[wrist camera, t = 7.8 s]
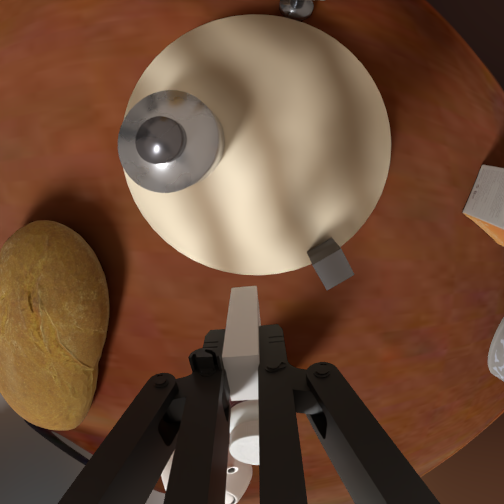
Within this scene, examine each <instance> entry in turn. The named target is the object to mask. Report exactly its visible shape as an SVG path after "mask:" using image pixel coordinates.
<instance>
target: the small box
mask: <svg viewBox="0 0 504 504" xmlns="http://www.w3.org/2000/svg"><path fill="white" fill-rule="evenodd" d="M463 214H464V215H466V216H467V217H469V218H470V219H471V220H472V221H474V222H475V223H476V224H477V225H478V226H479V227H481V228H482V229H483V230H484V231H485V232H486V233H487V234H488V235H489V236H490V237H492V238H493V239H494V240H495V241H496V242H497V243H498V244H500V245H502V246H504V168H500V167H495V166H489V165H482V166H481V169H480V171H479V174H478V177H477V179H476V182H475V184H474V186H473V189H472V191H471V194H470V196H469V198H468V201H467V203H466V205H465V208H464V210H463Z"/></svg>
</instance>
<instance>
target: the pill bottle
mask: <svg viewBox="0 0 504 504" xmlns="http://www.w3.org/2000/svg"><path fill="white" fill-rule="evenodd" d="M230 406H231V418H230V444H229V451H230V453H231V455H232V456H233V457H234V458H235V459H237V460H238V461H241V462H243V463H247V464H253V465H259V406H258V399H256V400H240V401H231V397H230Z"/></svg>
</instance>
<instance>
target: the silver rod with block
mask: <svg viewBox="0 0 504 504" xmlns="http://www.w3.org/2000/svg"><path fill="white" fill-rule="evenodd" d="M322 1H325V0H322ZM279 9H280V12H281V14H282V15H283V16H284V17H286V18H289V19H293V20H296V21H302V20H305V19H307V18H308V17H309V16H310V15H311V13H312V10H313V2H312V0H280V5H279Z"/></svg>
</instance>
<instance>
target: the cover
mask: <svg viewBox="0 0 504 504" xmlns="http://www.w3.org/2000/svg"><path fill="white" fill-rule="evenodd" d="M224 146H225V136H224V131H223V127H222V125H221V122H220V120H219V119H218V117H217V116H216V115H215V113H214V112H213V111H212V110H211V109H210V108H208V107H207V106H206V105H205V104H204V103H203V102H202V101H201V100H199V99H198V98H196V97H195V96H193V95H191V94H189V93H186V92H183V91H178V90H164V91H159V92H156V93H153V94H150V95H148V96H147V97H145V98H143V99H142V100H140V101H139V102H138V103H137V104H136V105H134V106H133V108H132V109H131V110H130V111H129V112H128V114H127V115H126V117H125V119H124V121H123V123H122V125H121V128H120V132H119V137H118V153H119V158H120V161H121V164H122V166H123V168H124V170H125V172H126V173H127V174H128V176H129V177H130V178H131V179H132V180H133V181H134V182H135V183H136V184H138V185H139V186H141V187H143V188H145V189H147V190H149V191H153V192H158V193H171V192H176V191H180V190H183V189H185V188H187V187H189V186H192V185H194V184H196V183H198V182H200V181H202V180H204V179H205V178H206V177H208V176H209V175H210V174H211V173H212V172H213V171H214V170H215V168H216V167H217V165H218V164H219V162H220V160H221V158H222V155H223V152H224Z"/></svg>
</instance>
